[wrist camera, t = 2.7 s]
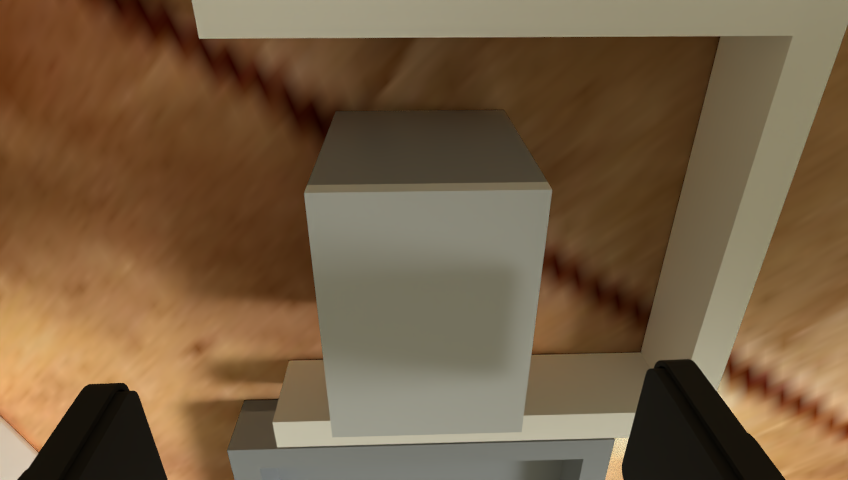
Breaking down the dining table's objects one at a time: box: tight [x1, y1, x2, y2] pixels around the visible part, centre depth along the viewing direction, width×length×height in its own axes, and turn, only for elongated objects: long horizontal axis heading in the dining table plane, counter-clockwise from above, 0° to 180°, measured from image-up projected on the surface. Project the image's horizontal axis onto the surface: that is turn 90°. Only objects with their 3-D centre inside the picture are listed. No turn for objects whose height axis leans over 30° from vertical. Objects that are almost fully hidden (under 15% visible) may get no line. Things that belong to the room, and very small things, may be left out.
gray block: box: [304, 110, 552, 437], centre depth 15 cm, size 5×7×6 cm
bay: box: [192, 0, 848, 447], centre depth 16 cm, size 15×14×3 cm
